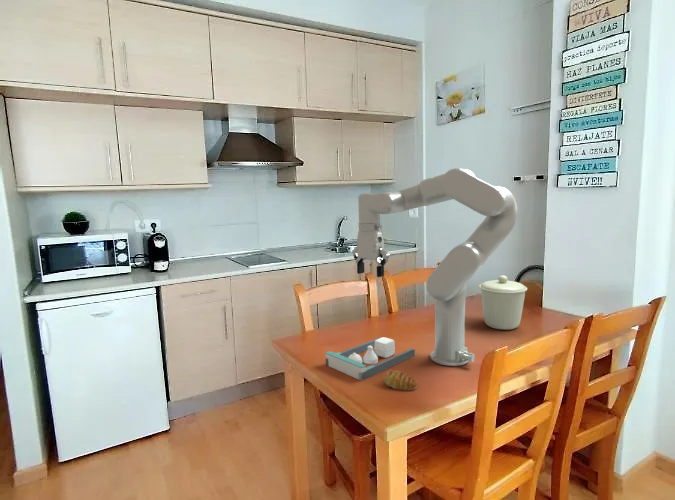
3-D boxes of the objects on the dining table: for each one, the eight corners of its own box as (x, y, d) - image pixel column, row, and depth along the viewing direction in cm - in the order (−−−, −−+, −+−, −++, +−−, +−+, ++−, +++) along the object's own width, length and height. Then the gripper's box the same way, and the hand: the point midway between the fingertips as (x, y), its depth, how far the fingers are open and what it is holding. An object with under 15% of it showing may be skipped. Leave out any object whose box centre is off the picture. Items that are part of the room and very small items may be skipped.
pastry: (420, 384, 121) (420, 372, 120) (412, 394, 115) (412, 381, 114) (391, 377, 125) (391, 366, 125) (382, 387, 120) (381, 375, 119)
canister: (536, 329, 163) (538, 277, 160) (500, 336, 157) (501, 282, 154) (502, 316, 180) (503, 269, 177) (469, 322, 173) (469, 273, 170)
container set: (383, 351, 146) (383, 336, 146) (395, 355, 143) (394, 340, 142) (343, 369, 133) (343, 352, 132) (355, 373, 129) (354, 357, 128)
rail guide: (414, 355, 141) (414, 343, 140) (361, 380, 124) (361, 367, 123) (379, 343, 153) (378, 332, 152) (326, 365, 136) (325, 352, 135)
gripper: (395, 228, 143) (395, 276, 145) (359, 226, 155) (360, 270, 158) (380, 229, 138) (381, 279, 140) (345, 227, 151) (346, 273, 153)
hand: (370, 274), depth 149 cm, fingers open, 9 cm apart
